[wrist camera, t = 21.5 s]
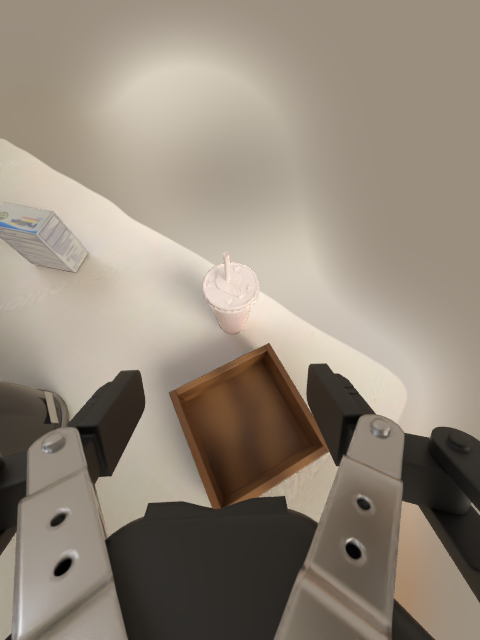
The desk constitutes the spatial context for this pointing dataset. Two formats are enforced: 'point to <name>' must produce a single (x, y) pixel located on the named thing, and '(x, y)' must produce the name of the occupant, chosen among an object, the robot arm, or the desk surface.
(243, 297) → the smoothie
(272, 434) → the wooden box
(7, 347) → the desk surface
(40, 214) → the medicine box
